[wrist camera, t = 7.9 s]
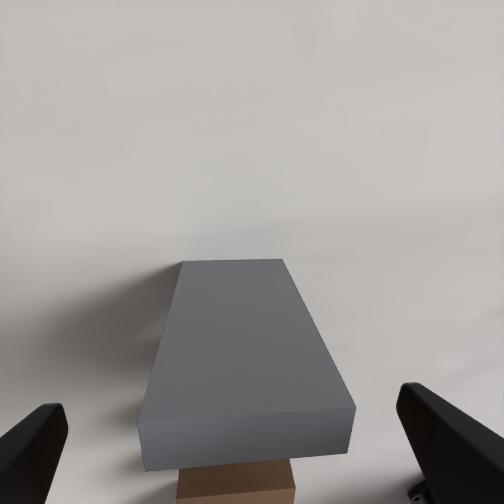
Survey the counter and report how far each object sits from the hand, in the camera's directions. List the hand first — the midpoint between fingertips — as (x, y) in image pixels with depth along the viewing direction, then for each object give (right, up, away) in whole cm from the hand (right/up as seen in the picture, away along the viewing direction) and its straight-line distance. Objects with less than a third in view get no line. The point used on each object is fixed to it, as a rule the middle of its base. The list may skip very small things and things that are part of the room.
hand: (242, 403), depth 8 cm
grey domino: (-1, +3, +7) cm, 8 cm away
